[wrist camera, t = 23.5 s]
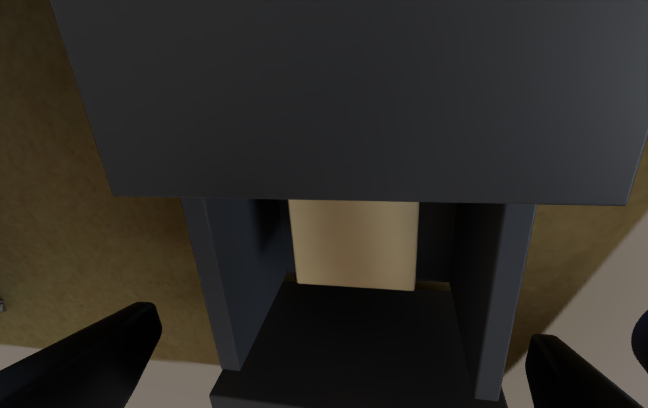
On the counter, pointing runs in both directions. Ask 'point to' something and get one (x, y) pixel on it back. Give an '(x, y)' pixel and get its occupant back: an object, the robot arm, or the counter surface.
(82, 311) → the counter surface
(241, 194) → the drawer cabinet
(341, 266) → the block
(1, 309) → the foil
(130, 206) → the counter surface
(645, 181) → the counter surface
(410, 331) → the pulled-out drawer
